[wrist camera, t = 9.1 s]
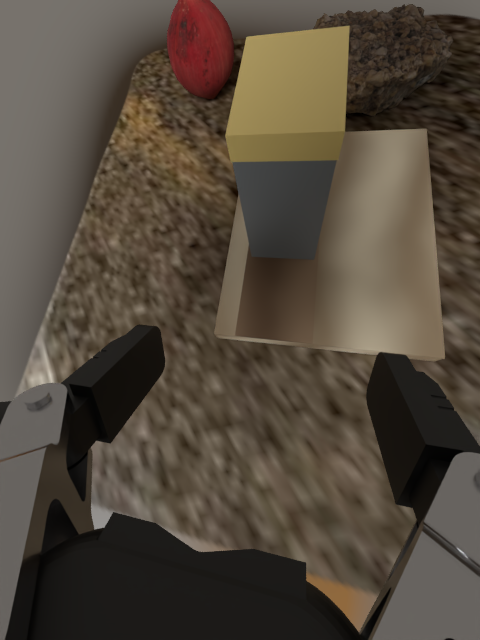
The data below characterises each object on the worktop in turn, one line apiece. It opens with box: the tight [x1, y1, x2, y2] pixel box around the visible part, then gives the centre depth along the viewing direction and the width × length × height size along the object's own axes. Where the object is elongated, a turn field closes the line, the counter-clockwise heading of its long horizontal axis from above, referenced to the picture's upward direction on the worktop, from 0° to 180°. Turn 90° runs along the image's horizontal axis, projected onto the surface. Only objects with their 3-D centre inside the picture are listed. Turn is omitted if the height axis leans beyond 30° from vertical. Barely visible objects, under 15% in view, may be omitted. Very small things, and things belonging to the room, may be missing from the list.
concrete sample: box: [313, 4, 453, 116], centre depth 22 cm, size 12×10×5 cm
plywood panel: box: [214, 129, 445, 361], centre depth 19 cm, size 14×18×1 cm
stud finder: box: [225, 26, 350, 260], centre depth 15 cm, size 4×6×9 cm
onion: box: [167, 0, 234, 99], centre depth 23 cm, size 6×6×8 cm
